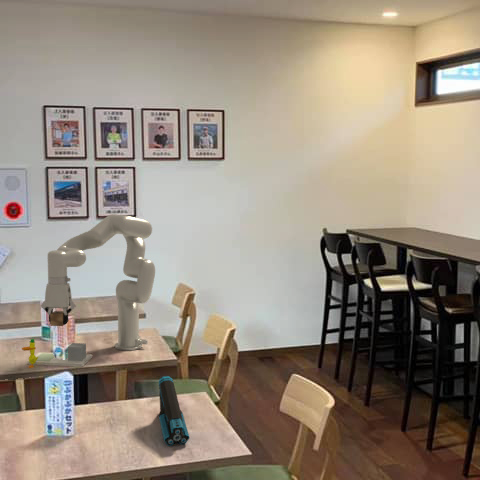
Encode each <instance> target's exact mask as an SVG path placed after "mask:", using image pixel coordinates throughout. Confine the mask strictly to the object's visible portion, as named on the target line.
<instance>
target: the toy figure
mask: <svg viewBox="0 0 480 480" xmlns="http://www.w3.org/2000/svg"><path fill="white" fill-rule="evenodd" d="M36 349H37V347H36V342H35V338H30V341H29V346H23V347H21V350H22V351H25V352H26V351H29V353H30V355H29V356H28V361H29V362H30V364H29V365H28V368H29V369H33V368H35V366H34V365H33V364H35V362H36V360H37V359H38V357H36V356H35V355H36V354H35V353H36V351H35V350H36Z"/></svg>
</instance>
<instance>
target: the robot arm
mask: <svg viewBox="0 0 480 480" xmlns="http://www.w3.org/2000/svg"><path fill="white" fill-rule="evenodd" d="M152 233H153V227H152V224H151V222H149V221H148V220H146V219H141V218H139V217H138V218H137V217H134V216H129V215H125V214H115V213H114V214H109V215H107V216H106V217H105V218H103V219H102V220H100V222H98V223H97V224H96V225H95V226H93V227H92V228H91V229H90V230H88V231H85V232H82V233H80V234H78V235H76V236H73V237H71V238H70V239H68V240H66V241H65V242H64V243H63V244H61V245H60V246H59V247H58V248H57V249H56V250H50V251H49V252H48V253H47V284H46V288H45V292H44V301H43V302H42V303H40V304H41V305H40V308H42V309H43V310H44V312H46V313H47V315H48V322H49V324H50V325H51V322H50V314H51V313H53V312H54V310H55V309H62V311H64V315H63V324H64V325H63V326H65V325H66V324H68V322H69V315H70V313H71V312H72V311H73V310H74V309H75V308H76V307H77V305H76V304H75V303H74V302H73V299H72V289H71V285H70V283H68V282H71V278H70V277H68V268H78V267H81V266H83V265H84V264H85V263H86V261H87V256H86V255H87V254H86V253H85V252H84V251H86V250H92V249H96V248H100V247H102V246H104V244H106V243H107V242H108V241H110V239H112V238H113V237H115V236H116V235H122V236H123V238H124V239H125V241H126V251H125V252H126V253H125V256H124V261H123V262H124V263H123V268H122V270H123V271H122V272H123V274H124V275H125V276H126V277H129V278H132V279H133V278H134V279H136V281H135V280H130V279H122V280H121V281H119V282H117V285H116V286H115V296H116V300H117V342H116V343H115V344H114V348H115V349H116V350H120V351H135V350H139V349H141V348H142V347H143V345H148V339H145V338H144V339H142V338H141V336H140V330H139V328H140V321H139V320H140V315H139V313H140V310H139V305H138V304H145V303H147V302H148V301H149V300H150V299H151V298H150V297H151V296H152V291H153V285H154V281H155V275H156V266H155V263H154V262H153V261H152V260H151V259H148V258H145V255H146V243H145V240H144V239H147V238H149V237H150V236H151V235H152ZM69 306H70V307H69Z"/></svg>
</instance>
